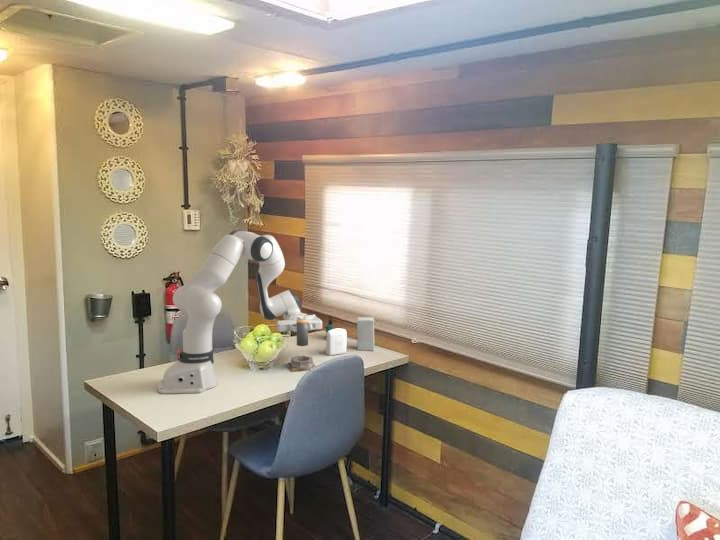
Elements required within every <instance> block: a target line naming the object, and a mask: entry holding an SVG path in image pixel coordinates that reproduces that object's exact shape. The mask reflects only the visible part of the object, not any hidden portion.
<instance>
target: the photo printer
mask: <svg viewBox="0 0 720 540" xmlns="http://www.w3.org/2000/svg"><path fill="white" fill-rule="evenodd" d="M347 332H348V331H347V330H346V329H345V328H340V327H339V328H338V327H337V328H334V329H332V330H330V331H328V332H327V338H326V337H325V340H326V344H325V345H326V346H325V351H326V352H325V353H326V356H335V355H341V354H346V353H347V345H348V344H347V342H348V341H347V340H348V338H347V336H348V335H347Z"/></svg>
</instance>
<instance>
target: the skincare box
mask: <svg viewBox="0 0 720 540" xmlns="http://www.w3.org/2000/svg"><path fill="white" fill-rule="evenodd" d="M356 337H357V339H356V342H357V343H356V345H357V347H356V348H357V351H374V350H375V345H376V344H375V343H376V342H375V317H371V316H370V317H369V316H368V317H366V316H363V317H362V316H359V317H357V319H356Z"/></svg>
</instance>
